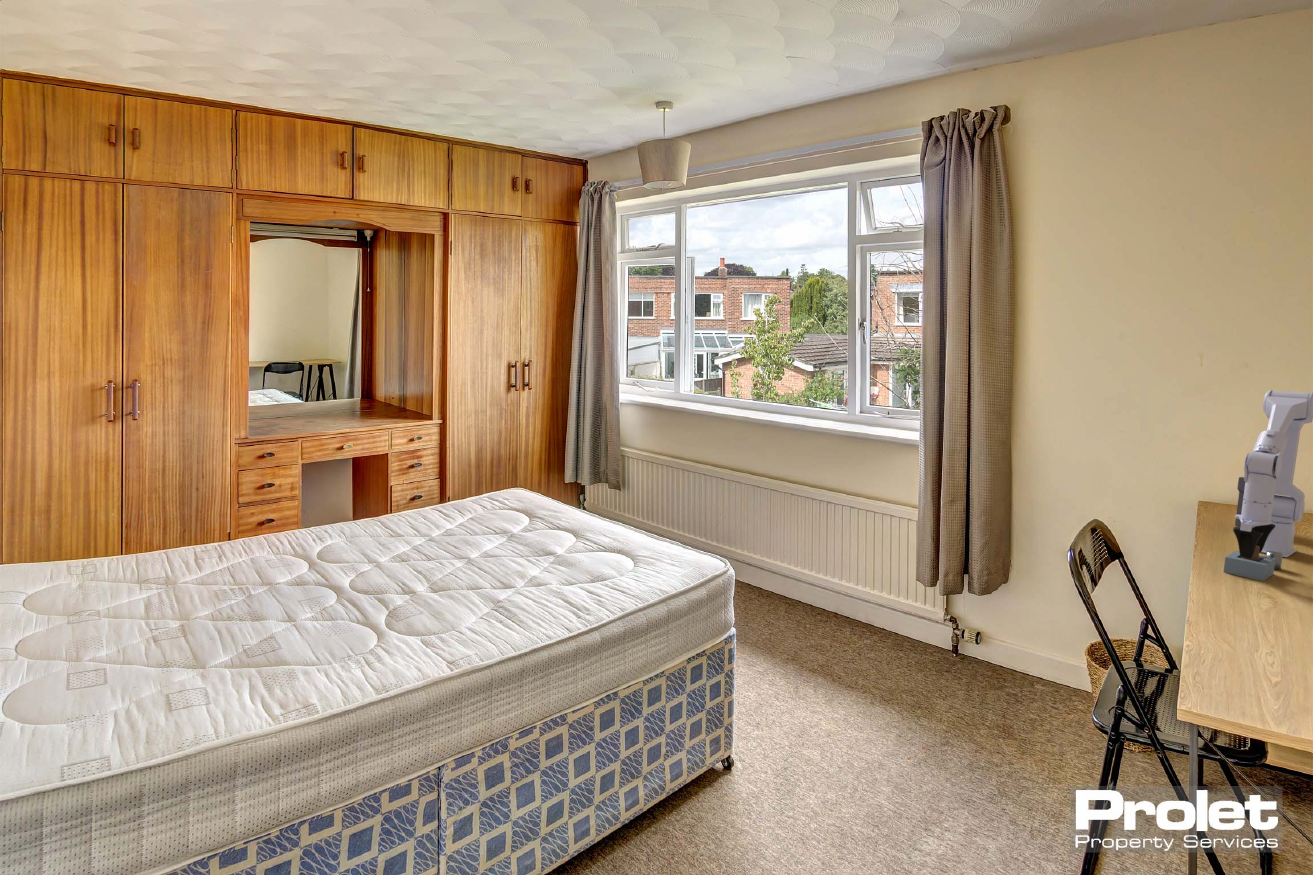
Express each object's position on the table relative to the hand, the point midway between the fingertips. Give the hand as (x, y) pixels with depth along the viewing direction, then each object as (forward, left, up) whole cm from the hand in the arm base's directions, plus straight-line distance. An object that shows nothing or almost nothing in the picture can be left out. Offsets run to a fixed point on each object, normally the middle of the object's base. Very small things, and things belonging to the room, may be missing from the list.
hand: (1250, 554), depth 185 cm
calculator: (-46, -11, -5) cm, 48 cm away
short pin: (-9, +3, -5) cm, 11 cm away
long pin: (0, 0, -5) cm, 5 cm away
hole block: (0, 0, -5) cm, 5 cm away
